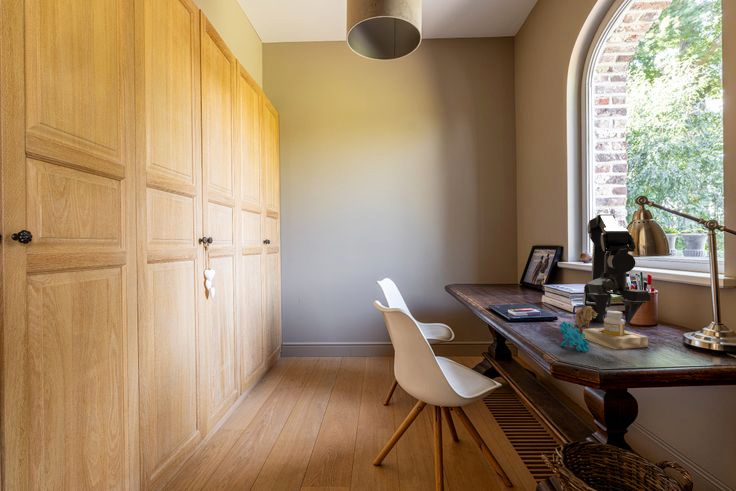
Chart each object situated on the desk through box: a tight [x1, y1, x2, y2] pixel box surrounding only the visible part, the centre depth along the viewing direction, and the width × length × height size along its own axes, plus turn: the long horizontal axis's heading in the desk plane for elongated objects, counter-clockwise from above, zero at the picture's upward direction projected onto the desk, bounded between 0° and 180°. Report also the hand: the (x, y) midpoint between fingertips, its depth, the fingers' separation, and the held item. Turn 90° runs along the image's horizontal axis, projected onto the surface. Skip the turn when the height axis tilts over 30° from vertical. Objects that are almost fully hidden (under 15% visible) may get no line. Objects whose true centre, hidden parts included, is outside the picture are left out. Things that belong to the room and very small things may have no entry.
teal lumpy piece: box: [558, 320, 591, 353], centre depth 108 cm, size 11×6×10 cm
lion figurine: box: [573, 305, 598, 331], centre depth 132 cm, size 15×5×9 cm, turn 168°
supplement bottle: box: [603, 310, 626, 336], centre depth 114 cm, size 5×5×10 cm
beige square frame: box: [582, 327, 649, 350], centre depth 114 cm, size 12×12×3 cm
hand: (614, 319), depth 113 cm, fingers open, 9 cm apart
